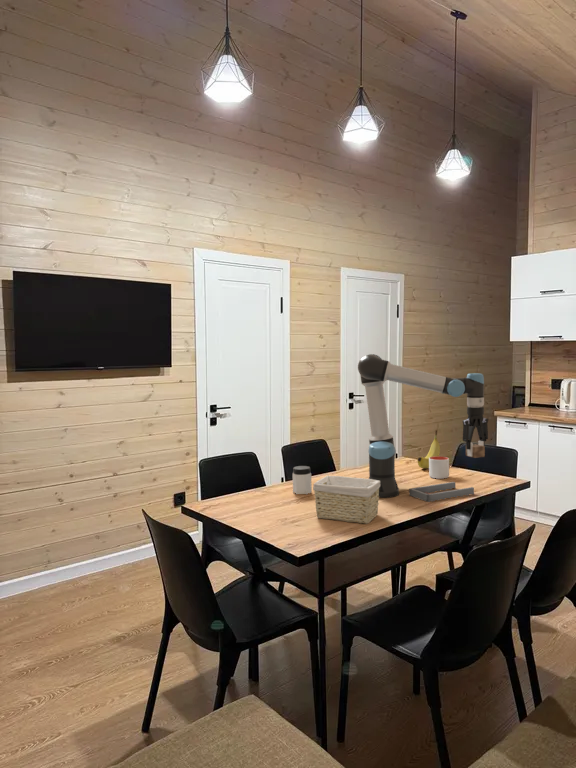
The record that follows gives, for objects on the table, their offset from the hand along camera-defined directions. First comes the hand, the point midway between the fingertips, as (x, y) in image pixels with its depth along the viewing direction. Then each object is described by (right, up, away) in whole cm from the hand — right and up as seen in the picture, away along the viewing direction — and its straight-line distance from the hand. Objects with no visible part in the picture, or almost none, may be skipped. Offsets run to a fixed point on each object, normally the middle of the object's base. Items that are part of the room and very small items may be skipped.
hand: (475, 455), depth 266 cm
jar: (-81, -18, +3) cm, 83 cm away
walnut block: (0, 0, 0) cm, 1 cm away
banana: (-9, -13, +51) cm, 54 cm away
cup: (-10, -15, +27) cm, 32 cm away
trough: (-18, -17, -8) cm, 26 cm away
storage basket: (-64, -20, -38) cm, 77 cm away
